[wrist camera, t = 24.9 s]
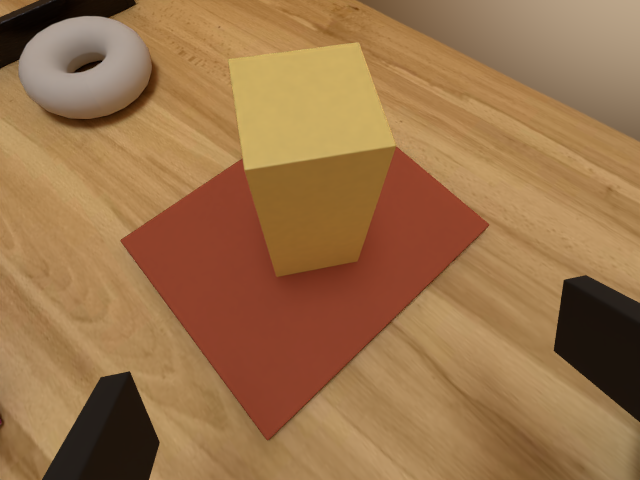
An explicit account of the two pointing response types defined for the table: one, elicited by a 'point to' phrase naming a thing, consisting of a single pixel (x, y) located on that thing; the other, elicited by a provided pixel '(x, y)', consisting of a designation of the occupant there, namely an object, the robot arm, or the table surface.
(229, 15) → the table surface
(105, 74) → the donut
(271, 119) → the carton
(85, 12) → the frame
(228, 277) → the mat
